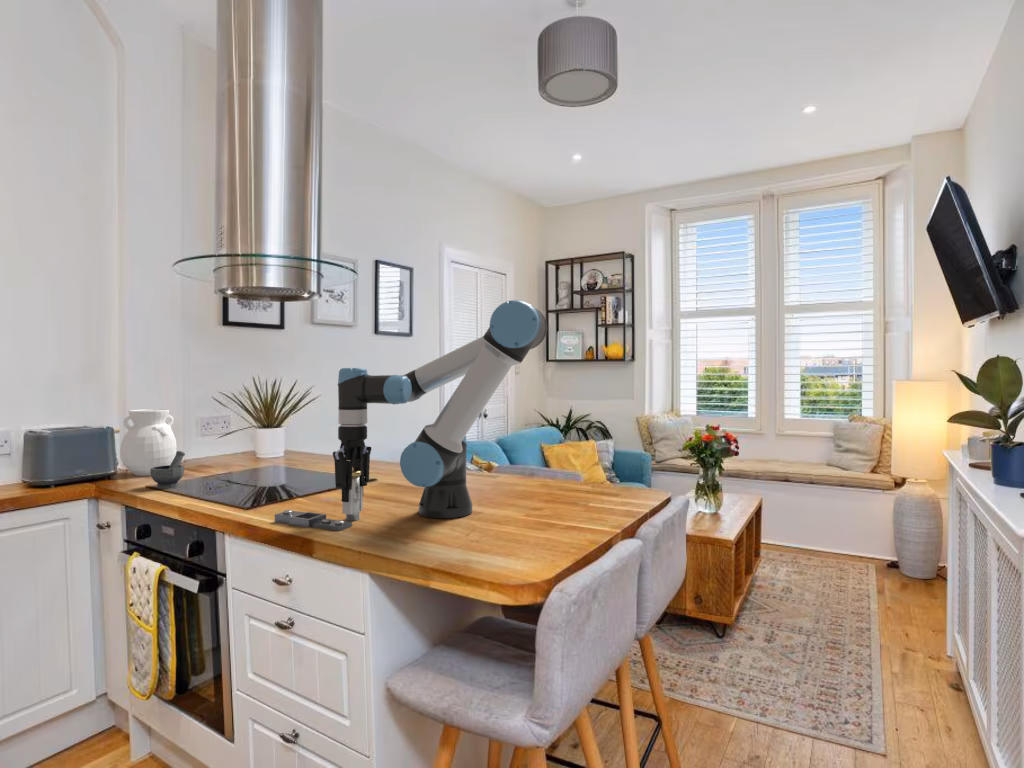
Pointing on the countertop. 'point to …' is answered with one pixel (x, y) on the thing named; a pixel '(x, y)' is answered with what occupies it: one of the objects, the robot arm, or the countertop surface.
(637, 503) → the countertop surface
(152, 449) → the white handled vase
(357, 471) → the pin
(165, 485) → the mortar and pestle
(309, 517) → the grey mounting bracket
